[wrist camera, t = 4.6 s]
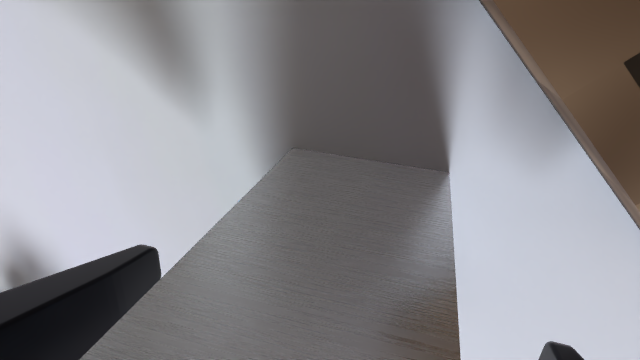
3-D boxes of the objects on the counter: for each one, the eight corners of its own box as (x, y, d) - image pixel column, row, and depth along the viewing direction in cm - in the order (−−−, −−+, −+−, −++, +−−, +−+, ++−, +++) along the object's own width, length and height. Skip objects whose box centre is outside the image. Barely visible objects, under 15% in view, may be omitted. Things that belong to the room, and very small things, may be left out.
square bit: (288, 269, 13) (126, 558, 6) (292, 147, 12) (65, 372, 5) (421, 299, 12) (397, 679, 5) (449, 172, 11) (468, 507, 4)
